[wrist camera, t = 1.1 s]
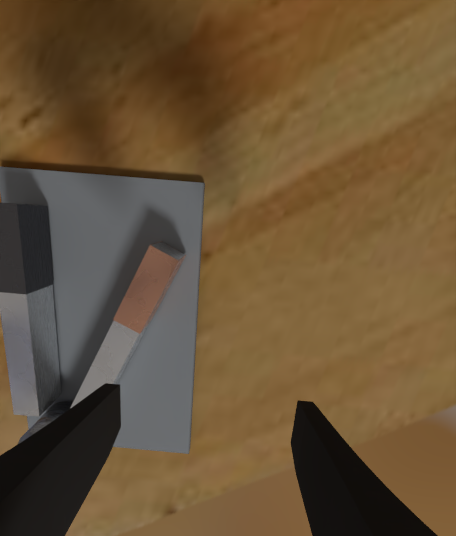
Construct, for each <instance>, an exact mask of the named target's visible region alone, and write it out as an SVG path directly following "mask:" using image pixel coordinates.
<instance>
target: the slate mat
mask: <svg viewBox="0 0 456 536" xmlns="http://www.w3.org/2000/svg"><path fill="white" fill-rule="evenodd" d="M204 187H205V184H204V183H199V182H187V181H174V180H161V179H149V178H136V177H124V176H111V175H99V174H86V173H73V172H61V171H48V170H36V169H23V168H11V167H0V193H1V201H2V203H17V204H30V205H42V206H47V208H48V221H49V233H50V246H51V258H52V271H53V283H54V284H53V297H54V309H55V322H56V334H57V346H58V359H59V371H60V383H61V395H60V396H59V397H58V398H57V399H56V400H55V401H54V402H53V403H52V404H51V405H50V406H49V407H48V408H47V409H46V410H45V411H44V412H43V413H42V414H41V415H40V416H39V417H38V416H27V419H28V428H29V429H30V428H31V427H32V426H33V425H34V424H35V423H36V422H37V421H38V420H39V419H40V418H41V417H42V415H43V414H44V413H45V412H46V411H47V410H48V409H49V408H50V407H51V406H52V405H53V404H55V403H57V402H61V401H68V402H72V403H73V402H74V400H75V397H76V395H77V393H78V391H79V389H80V387H81V385H82V383H83V381H84V379H85V377H86V375H87V373H88V371H89V369H90V367H91V365H92V363H93V361H94V359H95V357H96V355H97V353H98V351H99V349H100V347H101V345H102V343H103V341H104V339H105V337H106V335H107V333H108V331H109V329H110V327H111V325H112V323H113V321H114V320H113V319H114V317H115V315H116V313H117V310H118V308H119V306H120V304H121V302H122V300H123V298H124V296H125V294H126V292H127V290H128V288H129V286H130V284H131V282H132V280H133V278H134V276H135V274H136V272H137V270H138V268H139V266H140V264H141V262H142V260H143V258H144V256H145V254H146V252H147V250H148V248H149V246H150V245H151V244H154V243H157V242H160V241H163V242H164V243H166V244H168V245H170V246H172V247H173V248H175V249H177V250H179V251H180V252H182V253H184V254H186V257H185V259H184V260H183V262H182V264H181V266H180V268H179V270H178V272H177V274H176V275H175V277H174V279H173V281H172V283H171V285H170V287H169V288H168V290H167V292H166V294H165V296H164V298H163V300H162V302H161V303H160V305H159V307H158V309H157V311H156V313H155V315H154V317H153V318H152V320H151V321H150V323H149V324H148V326H147V328H146V330H145V332H144V334H143V336H142V338H141V340H140V341H139V343H138V345H137V347H136V349H135V351H134V353H133V355H132V356H131V358H130V360H129V362H128V364H127V366H126V368H125V370H124V371H123V373H122V375H121V377H120V379H119V381H118V383H117V384H120V400H121V428H120V430H119V433H118V435H117V438H116V440H115V443H114V445H113V447H122V448H133V449H144V450H154V451H165V452H176V453H186V454H189V450H190V439H191V421H192V403H193V385H194V367H195V349H196V331H197V313H198V295H199V277H200V259H201V241H202V223H203V205H204Z"/></svg>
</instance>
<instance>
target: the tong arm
mask: <svg viewBox="0 0 456 536" xmlns="http://www.w3.org/2000/svg"><path fill="white" fill-rule="evenodd" d="M185 257H186V254H184V253H182V252H180V251H179V250H177V249H175V248H173V247H172V246H170V245H168V244H166V243H164V242H163V241H160V242H157V243H154V244H151V245H150V246H149V248H148V250H147V252H146V254H145V256H144V258H143V260H142V262H141V264H140V266H139V268H138V270H137V272H136V274H135V276H134V278H133V280H132V282H131V284H130V286H129V288H128V290H127V292H126V294H125V296H124V298H123V300H122V302H121V304H120V306H119V308H118V310H117V313H116V315H115V317H114V319H113V320H114V321H113V323H112V325H111V327H110V329H109V331H108V333H107V335H106V337H105V339H104V341H103V343H102V345H101V347H100V349H99V351H98V353H97V355H96V357H95V359H94V361H93V363H92V365H91V367H90V369H89V371H88V373H87V375H86V377H85V379H84V381H83V383H82V385H81V387H80V389H79V391H78V393H77V395H76V397H75V400H74V402H73V403H72V402H68V401H61V402H57V403H55V404H53V405H52V406H51V407H50V408H49V409H48V410H47V411H46V412H45V413H44V414H43V415H42V417H41V418H40V419H39V420H38V421H37V422H36V423H35V424H34V425H33V426H32V427H31V428H30V429H29V430H28V431H27V432H26V433H25V434H24V435H23V436H22V437H21V438H20V440H19V443H21V442H22V441H24V440H25V439H27V438H28V437H30V436H31V435H33V434H34V433H36V432H37V431H39V430H40V429H42V428H43V427H45V426H46V425H48V424H49V423H51V422H52V421H54V420H55V419H56V418H58V417H59V416H61V415H62V414H63V413H65V412H66V411H68V410H69V409H70V408H72V407H73V406H75V405H76V404H77V403H79V402H80V401H81V400H83V399H84V398H86V397H87V396H88V395H90V394H91V393H92V392H94V391H95V390H96V389H98V388H99V387H101V386H102V385H104V384H105V383H108V384H117V383H118V381H119V379H120V377H121V375H122V373H123V371H124V370H125V368H126V366H127V364H128V362H129V360H130V358H131V356H132V355H133V353H134V351H135V349H136V347H137V345H138V343H139V341H140V340H141V338H142V336H143V334H144V332H145V330H146V328H147V326H148V324H149V323H150V321H151V320H152V318H153V317H154V315H155V313H156V311H157V309H158V307H159V305H160V303H161V302H162V300H163V298H164V296H165V294H166V292H167V290H168V288H169V287H170V285H171V283H172V281H173V279H174V277H175V275H176V274H177V272H178V270H179V268H180V266H181V264H182V262H183V260H184V259H185ZM19 443H18V444H19Z"/></svg>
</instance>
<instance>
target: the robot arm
mask: <svg viewBox="0 0 456 536" xmlns="http://www.w3.org/2000/svg"><path fill="white" fill-rule="evenodd" d="M120 428H121V400H120V384H108V383H105V384H104V385H102V386H101V387H99V388H98V389H96V390H95V391H94V392H92V393H91V394H90V395H88V396H87V397H86V398H84V399H83V400H81V401H80V402H79V403H77V404H76V405H75V406H73V407H72V408H70V409H69V410H68V411H66V412H65V413H63V414H62V415H61V416H59V417H58V418H56V419H55V420H54V421H52V422H51V423H49V424H48V425H46V426H45V427H43V428H42V429H40V430H39V431H37V432H36V433H34V434H33V435H31V436H30V437H28V438H27V439H25V440H24V441H22V442H21V443H19V444H18V445H16V446H15V447H13V448H12V449H10V450H9V451H7V452H5V453H4V454H2V455H0V536H65V534H66V532H67V531H68V529H69V527H70V525H71V523H72V522H73V520H74V518H75V516H76V514H77V513H78V511H79V509H80V507H81V505H82V504H83V502H84V500H85V498H86V496H87V495H88V493H89V491H90V489H91V487H92V485H93V484H94V482H95V480H96V478H97V476H98V475H99V473H100V471H101V469H102V467H103V465H104V464H105V462H106V460H107V458H108V456H109V454H110V452H111V449H112V447H113V445H114V443H115V440H116V438H117V435H118V433H119V430H120ZM291 447H292V453H293V459H294V465H295V470H296V475H297V479H298V483H299V487H300V491H301V495H302V498H303V502H304V506H305V510H306V513H307V517H308V521H309V524H310V528H311V532H312V535H313V536H437V535H436V534H435V533H434V532H433V531H432V530H431V529H430V528H429V527H428V526H426V525H425V524H424V523H423V522H422V521H421V520H420V519H419V518H418V517H417V516H416V515H415V514H414V513H413V512H412V511H411V510H410V509H409V508H408V507H407V506H405V505H404V504H403V503H402V502H401V501H400V500H399V499H398V498H397V497H396V496H395V495H394V494H393V493H392V492H391V491H390V490H389V489H388V488H387V487H386V486H385V485H384V484H383V482H382V481H381V480H380V479H379V478H378V477H377V476H376V475H375V474H374V473H373V472H372V471H371V470H370V469H369V468H368V467H367V466H366V464H365V463H364V462H363V461H362V460H361V459H360V458H359V457H358V456H357V454H356V453H355V452H354V451H353V450H352V448H351V447H350V446H349V445H348V444H347V443H346V442H345V440H344V439H343V438H342V437H341V436H340V434H339V433H338V432H337V431H336V430H335V428H334V427H333V426H332V425H331V423H330V422H329V421H328V420H327V419H326V417H325V416H324V415H323V414H322V412H321V411H320V410H319V409H318V407H317V406H316V405H315V404H314V403H313V402H308V401H298V402H297V408H296V414H295V420H294V426H293V432H292V438H291Z"/></svg>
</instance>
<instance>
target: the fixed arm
mask: <svg viewBox="0 0 456 536" xmlns="http://www.w3.org/2000/svg"><path fill="white" fill-rule="evenodd" d="M53 284H54V283H53V271H52V258H51V246H50V233H49V221H48V208H47V206H42V205H30V204H17V203H0V313H1V321H2V328H3V336H4V343H5V351H6V358H7V366H8V373H9V381H10V388H11V396H12V403H13V411H14V414H16V415H27V416H38V417H39V416H40V415H41V414H42V413H43V412H44V411H45V410H46V409H47V408H48V407H49V406H50V405H51V404H52V403H53V402H54V401H55V400H56V399H57V398H58V397H59V396H60V395H61V383H60V371H59V359H58V346H57V334H56V322H55V309H54V297H53Z"/></svg>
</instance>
